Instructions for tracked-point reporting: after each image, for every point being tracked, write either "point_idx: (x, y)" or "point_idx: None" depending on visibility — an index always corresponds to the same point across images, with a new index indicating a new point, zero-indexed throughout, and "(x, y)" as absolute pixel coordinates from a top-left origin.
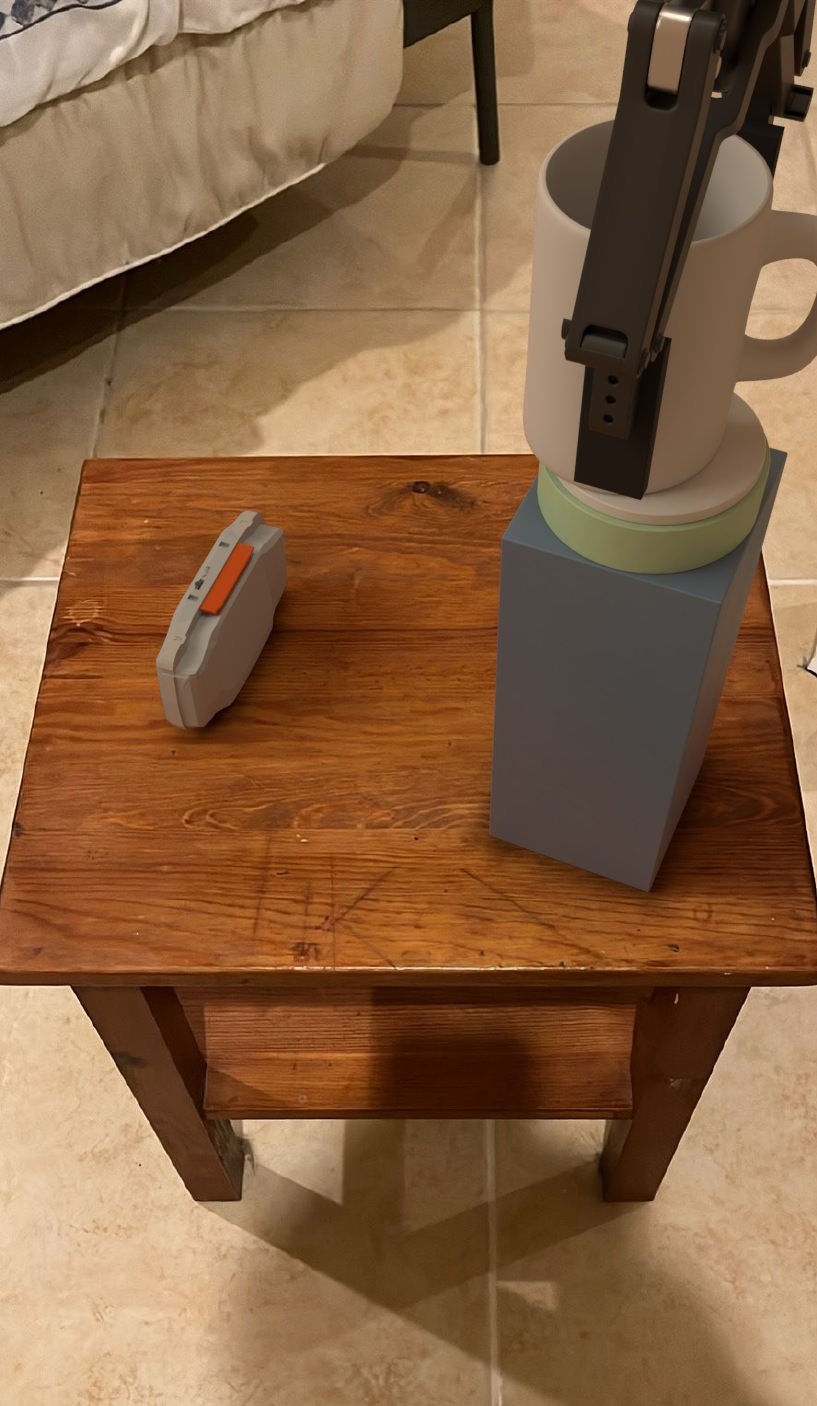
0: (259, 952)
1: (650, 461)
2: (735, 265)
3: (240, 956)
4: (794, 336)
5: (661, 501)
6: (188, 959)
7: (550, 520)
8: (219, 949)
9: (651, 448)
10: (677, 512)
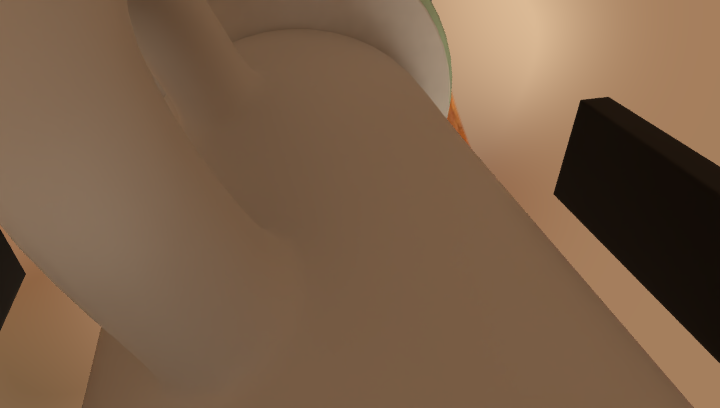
0: (451, 109)
1: (631, 126)
2: (579, 330)
3: (456, 117)
4: (138, 9)
5: (419, 62)
6: (465, 139)
7: None
8: (455, 129)
9: (663, 141)
10: (435, 32)
